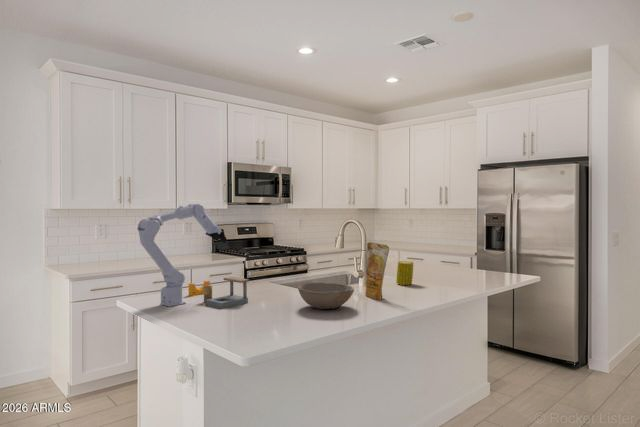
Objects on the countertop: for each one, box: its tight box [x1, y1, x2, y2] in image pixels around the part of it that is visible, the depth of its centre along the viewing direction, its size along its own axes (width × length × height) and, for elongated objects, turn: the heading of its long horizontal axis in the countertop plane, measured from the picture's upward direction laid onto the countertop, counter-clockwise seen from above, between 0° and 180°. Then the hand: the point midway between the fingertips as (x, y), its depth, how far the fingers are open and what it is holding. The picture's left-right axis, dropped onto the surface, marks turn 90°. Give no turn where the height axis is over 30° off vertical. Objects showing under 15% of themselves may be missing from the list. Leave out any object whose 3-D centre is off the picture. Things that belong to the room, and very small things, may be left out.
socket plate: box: [205, 276, 250, 309], centre depth 212 cm, size 16×13×12 cm
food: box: [395, 260, 414, 286], centre depth 264 cm, size 15×12×10 cm
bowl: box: [297, 282, 355, 310], centre depth 204 cm, size 26×26×10 cm
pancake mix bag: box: [365, 241, 390, 301], centre depth 227 cm, size 7×19×28 cm, turn 22°
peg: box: [203, 284, 213, 304], centre depth 216 cm, size 4×4×8 cm
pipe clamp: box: [188, 280, 211, 297], centre depth 237 cm, size 12×4×6 cm, turn 143°
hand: (221, 240), depth 232 cm, fingers open, 7 cm apart
